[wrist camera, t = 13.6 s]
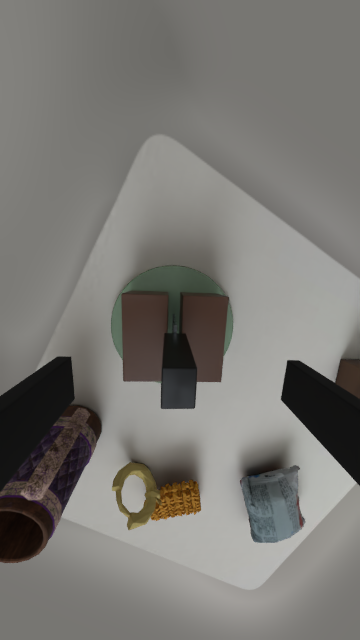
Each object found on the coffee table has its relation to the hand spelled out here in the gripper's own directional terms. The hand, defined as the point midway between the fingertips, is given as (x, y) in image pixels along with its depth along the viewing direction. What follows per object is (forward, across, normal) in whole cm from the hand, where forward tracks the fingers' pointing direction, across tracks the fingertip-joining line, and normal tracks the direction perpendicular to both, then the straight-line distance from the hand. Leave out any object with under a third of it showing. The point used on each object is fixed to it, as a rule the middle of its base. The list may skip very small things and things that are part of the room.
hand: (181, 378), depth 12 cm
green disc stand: (+13, 0, 0) cm, 13 cm away
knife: (+12, 0, 0) cm, 12 cm away
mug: (+13, -12, -13) cm, 22 cm away
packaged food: (+13, +16, -26) cm, 33 cm away
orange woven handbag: (+13, -1, -24) cm, 27 cm away
